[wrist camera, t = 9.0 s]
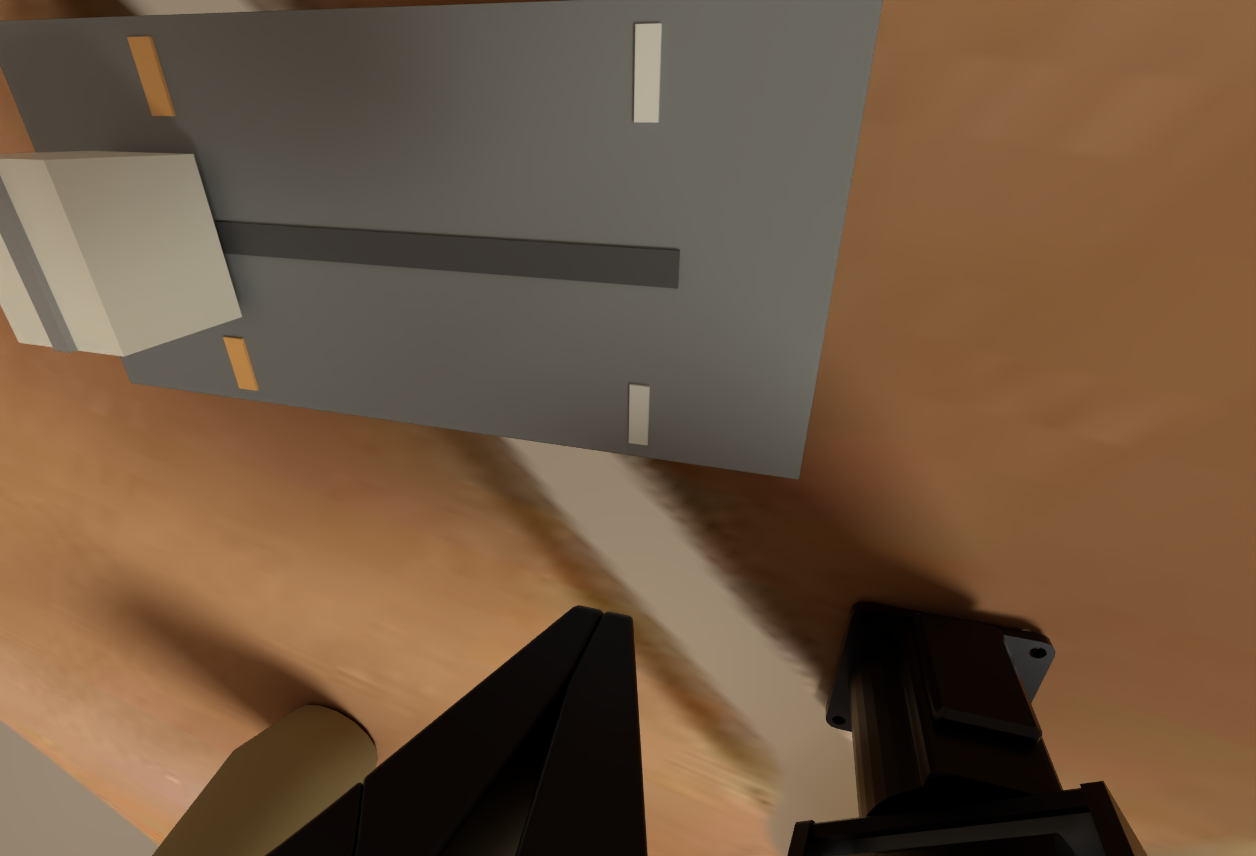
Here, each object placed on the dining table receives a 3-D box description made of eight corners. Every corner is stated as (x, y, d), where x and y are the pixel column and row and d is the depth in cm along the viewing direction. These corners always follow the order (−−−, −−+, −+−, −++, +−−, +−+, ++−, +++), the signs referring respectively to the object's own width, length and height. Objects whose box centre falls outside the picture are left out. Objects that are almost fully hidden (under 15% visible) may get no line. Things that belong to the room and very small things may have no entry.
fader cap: (242, 316, 20) (117, 359, 16) (149, 307, 21) (11, 344, 17) (193, 154, 17) (34, 160, 14) (91, 150, 18) (-84, 155, 15)
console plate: (799, 448, 19) (798, 481, 17) (176, 365, 25) (128, 383, 23) (874, 7, 14) (885, -13, 12) (54, 30, 20) (-22, 20, 18)
